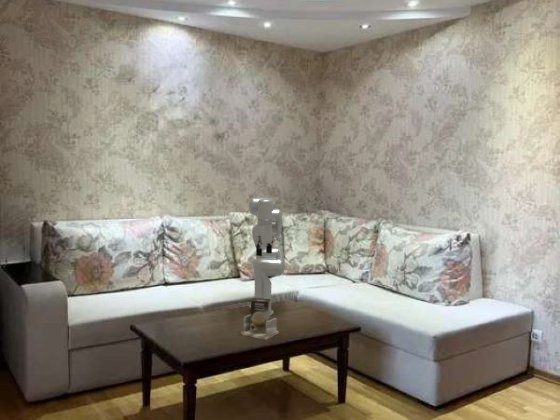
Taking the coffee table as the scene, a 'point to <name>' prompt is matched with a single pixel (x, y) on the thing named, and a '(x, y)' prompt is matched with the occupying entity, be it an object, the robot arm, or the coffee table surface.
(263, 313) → the coffee box
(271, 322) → the book rack
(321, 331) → the coffee table surface
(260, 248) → the robot arm
